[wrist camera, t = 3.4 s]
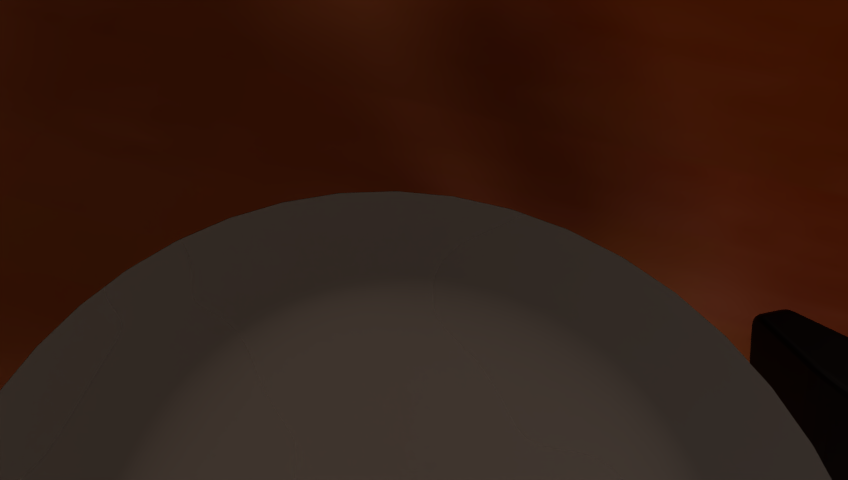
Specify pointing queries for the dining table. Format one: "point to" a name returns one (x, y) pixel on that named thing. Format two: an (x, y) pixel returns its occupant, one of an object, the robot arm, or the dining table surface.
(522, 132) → the dining table surface
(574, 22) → the dining table surface
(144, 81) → the dining table surface
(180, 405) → the steel canister
